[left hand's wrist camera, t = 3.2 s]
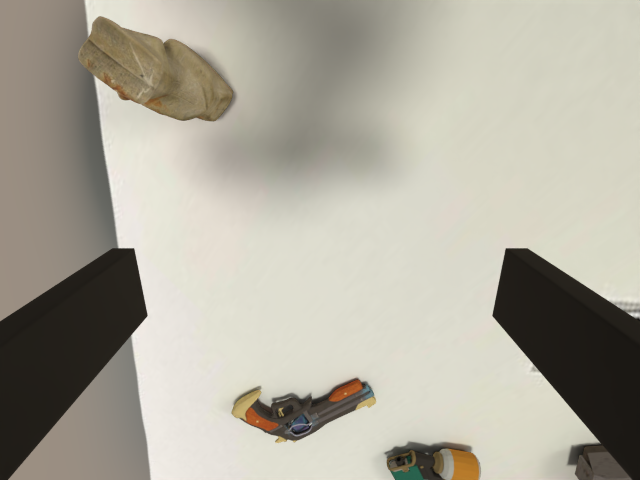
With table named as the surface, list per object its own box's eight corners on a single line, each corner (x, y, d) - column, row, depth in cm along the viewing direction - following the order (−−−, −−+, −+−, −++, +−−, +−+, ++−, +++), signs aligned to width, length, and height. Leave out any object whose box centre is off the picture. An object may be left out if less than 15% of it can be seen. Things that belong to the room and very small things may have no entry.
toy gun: (225, 413, 48) (263, 465, 50) (345, 351, 46) (379, 407, 48) (230, 400, 51) (266, 450, 53) (343, 341, 49) (376, 395, 51)
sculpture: (191, 36, 34) (102, -18, 20) (247, 90, 36) (201, 75, 22) (158, 82, 36) (53, 62, 22) (213, 132, 38) (150, 144, 23)
